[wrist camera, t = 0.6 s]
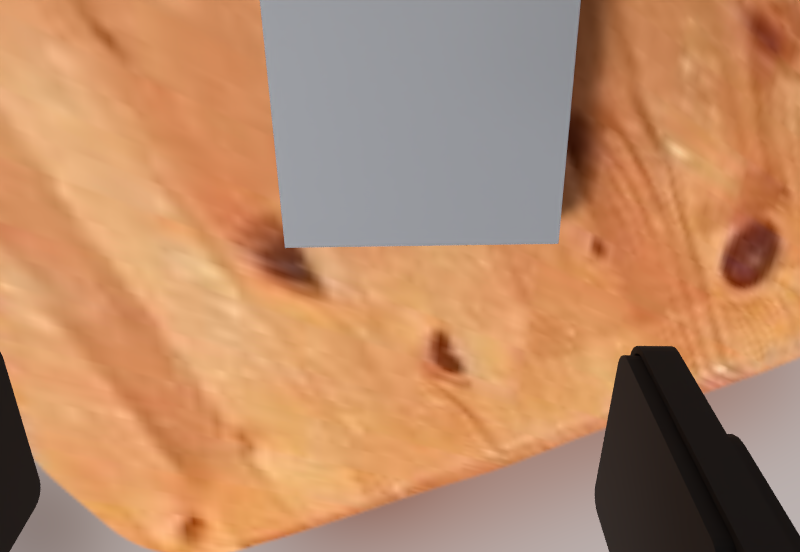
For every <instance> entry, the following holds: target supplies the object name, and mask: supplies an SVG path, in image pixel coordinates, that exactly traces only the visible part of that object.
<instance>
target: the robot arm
mask: <svg viewBox="0 0 800 552" xmlns="http://www.w3.org/2000/svg"><path fill="white" fill-rule="evenodd" d="M39 496H40V480H39V476H38V473H37V469H36V466H35V463H34V459H33V456H32V453H31V449H30V446H29V443H28V439H27V436H26V433H25V429H24V426H23V423H22V419H21V416H20V413H19V409H18V406H17V403H16V399H15V396H14V393H13V389H12V386H11V383H10V379H9V376H8V372H7V369H6V366H5V362H4V359H3V356H2V354H1V352H0V552H9V551H10V550H11V548H12V546H13V544H14V543H15V541H16V539H17V537H18V536H19V534H20V533H21V531H22V529H23V527H24V526H25V524H26V522H27V520H28V519H29V517H30V515H31V514H32V512H33V510H34V509H35V507H36V505H37V503H38V500H39ZM595 504H596V509H597V513H598V517H599V520H600V523H601V527H602V530H603V533H604V536H605V540H606V542H607V546H608V549H609V552H800V536H799V534H798V532H797V531H796V529H795V527H794V526H793V524H792V522H791V521H790V519H789V517H788V516H787V514H786V512H785V511H784V509H783V507H782V506H781V504H780V503H779V501H778V499H777V498H776V496H775V495H774V493H773V491H772V489H771V488H770V486H769V484H768V483H767V481H766V479H765V478H764V476H763V475H762V473H761V471H760V470H759V468H758V466H757V465H756V463H755V462H754V460H753V458H752V457H751V455H750V453H749V452H748V450H747V448H746V447H745V445H744V444H743V442H742V441H741V440H740V439H739V438H738V437H737V436H735V435H733V434H726V432H725V430H724V429H723V427H722V425H721V423H720V422H719V420H718V418H717V417H716V415H715V413H714V412H713V410H712V408H711V406H710V405H709V403H708V402H707V400H706V398H705V396H704V394H703V393H702V391H701V389H700V388H699V386H698V384H697V383H696V381H695V379H694V377H693V376H692V374H691V372H690V371H689V369H688V367H687V365H686V364H685V362H684V360H683V359H682V357H681V355H680V354H679V352H678V350H677V349H676V348H675V347H672V346H636V347H634V348H633V350H632V352H631V355H623V356H621V357H620V359H619V362H618V367H617V372H616V378H615V383H614V388H613V394H612V399H611V404H610V410H609V415H608V421H607V426H606V431H605V437H604V442H603V448H602V453H601V458H600V463H599V469H598V474H597V480H596V485H595Z"/></svg>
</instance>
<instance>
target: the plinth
mask: <svg viewBox="0 0 800 552" xmlns="http://www.w3.org/2000/svg"><path fill="white" fill-rule="evenodd" d="M580 3H581V0H260V6H261V16H262V26H263V36H264V45H265V55H266V65H267V75H268V85H269V95H270V104H271V114H272V124H273V134H274V144H275V154H276V163H277V173H278V183H279V193H280V203H281V213H282V222H283V232H284V242H285V248H295V247H363V246H431V245H499V244H558V242H559V231H560V220H561V209H562V199H563V188H564V177H565V166H566V155H567V144H568V133H569V122H570V112H571V101H572V90H573V79H574V68H575V57H576V46H577V35H578V25H579V14H580Z"/></svg>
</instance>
